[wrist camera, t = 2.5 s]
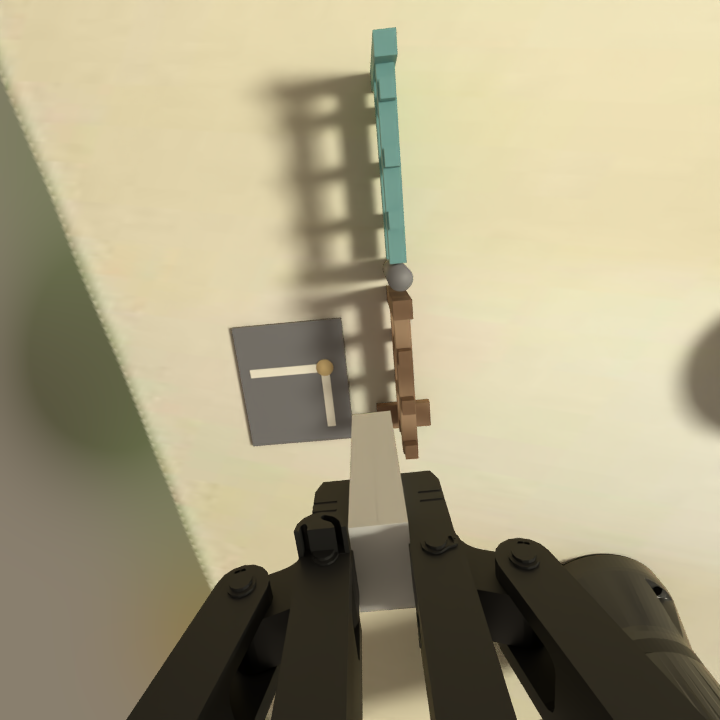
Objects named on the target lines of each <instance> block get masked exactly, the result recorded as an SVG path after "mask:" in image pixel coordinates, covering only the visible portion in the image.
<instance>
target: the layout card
mask: <svg viewBox="0 0 720 720" xmlns="http://www.w3.org/2000/svg"><path fill="white" fill-rule="evenodd" d="M231 329H232V335H233V340H234V345H235V351H236V356H237V361H238V367H239V372H240V377H241V383H242V388H243V394H244V399H245V404H246V410H247V415H248V420H249V426H250V431H251V436H252V442H253V446H263V445H274V444H286V443H298V442H310V441H322V440H334V439H346V438H351V431H352V413H351V404H350V395H349V386H348V377H347V368H346V358H345V349H344V340H343V331H342V322H341V318H332V319H321V320H310V321H299V322H289V323H278V324H267V325H256V326H245V327H234V328H231Z"/></svg>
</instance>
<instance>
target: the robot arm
mask: <svg viewBox="0 0 720 720" xmlns="http://www.w3.org/2000/svg"><path fill="white" fill-rule="evenodd" d="M312 513H313V514H312V515H310V516H308V517H306V518H304V519H303V520H301V521H300V522H299V523H298V524H297V526H296V528H295V530H294V535H295V540H296V545H297V551H298V556H299V560H298V561H297V562H296V563H294V564H293V565H291V566H290V567H288V568H286V569H283V570H281V571H278V572H275V573H272V574H270V575H268V572H267V571H266V570H265V569H264V568H263V567H260V566H257V565H244V566H241V567H238V568H235V569H233V570H232V571H230V572H229V573H227V574H225V575H224V576H223V577H222V579H221V580H220V581H219V582H218V583H217V585H216V586H215V588H214V589H213V591H212V592H211V594H210V595H209V597H208V598H207V600H206V601H205V603H204V604H203V606H202V607H201V609H200V610H199V612H198V613H197V615H196V616H195V618H194V619H193V621H192V622H191V624H190V625H189V627H188V628H187V630H186V631H185V633H184V634H183V636H182V637H181V639H180V640H179V642H178V643H177V645H176V646H175V648H174V649H173V651H172V652H171V654H170V655H169V657H168V658H167V660H166V661H165V663H164V664H163V666H162V667H161V669H160V670H159V672H158V673H157V675H156V676H155V678H154V679H153V681H152V682H151V684H150V685H149V687H148V688H147V690H146V691H145V693H144V694H143V696H142V697H141V699H140V700H139V702H138V703H137V705H136V706H135V708H134V709H133V711H132V712H131V714H130V715H129V717H128V718H127V720H265V718H266V715H267V713H268V710H269V708H270V705H271V703H272V700H273V698H274V695H275V700H274V706H273V712H272V717H271V720H362V630H361V623H360V616H359V605H360V612H371V611H382V610H393V609H404V608H415V607H416V615H417V625H418V635H419V645H420V648H421V654H422V661H423V668H424V675H425V683H426V690H427V697H428V704H429V711H430V719H431V720H517V718H516V715H515V712H514V709H513V705H512V702H511V699H510V696H509V692H508V689H507V686H506V683H505V680H504V676H503V673H502V670H501V667H500V663H499V660H498V657H497V654H496V651H495V647H494V644H493V642H498V643H499V646H500V649H501V650H502V652H503V654H504V655H505V657H506V659H507V660H508V662H509V664H510V665H511V667H512V669H513V670H514V672H515V674H516V675H517V677H518V679H519V680H520V682H521V684H522V685H523V687H524V689H525V690H526V692H527V694H528V695H529V697H530V699H531V700H532V702H533V704H534V705H535V707H536V709H537V710H538V712H539V714H540V715H541V717H542V719H540V720H720V685H719V684H718V682H717V681H716V680H715V679H714V677H713V676H712V675H711V673H710V672H709V671H708V670H707V669H706V667H705V666H704V665H703V663H702V662H701V661H700V659H699V658H698V657H697V655H696V654H695V653H694V651H693V650H692V648H691V645H690V643H689V640H688V638H687V635H686V632H685V630H684V627H683V625H682V622H681V620H680V617H679V614H678V612H677V609H676V607H675V604H674V601H673V599H672V597H671V595H670V594H669V592H668V590H667V589H666V588H665V586H664V585H663V584H662V583H661V582H660V580H659V579H658V578H657V577H656V576H655V574H654V573H653V572H652V571H651V570H650V569H649V568H647V567H646V566H645V565H643V564H642V563H640V562H638V561H636V560H633V559H631V558H627V557H623V556H618V555H594V556H588V557H584V558H580V559H577V560H574V561H572V562H569V563H567V564H565V565H562V564H561V563H560V562H559V561H558V560H557V559H556V558H555V557H554V556H553V554H552V553H551V552H550V551H549V550H548V549H546V548H545V547H544V546H542V545H541V544H540V543H537V542H535V541H532V540H530V539H523V538H514V539H508V540H506V541H504V542H502V543H500V544H499V546H498V547H497V548H496V552H494V551H487V550H481V549H477V548H474V547H471V546H469V545H467V544H465V543H464V542H463V541H461V540H460V538H459V537H458V535H457V534H456V533H455V531H454V528H453V525H452V522H451V518H450V515H449V512H448V508H447V505H446V502H445V499H444V495H443V492H442V488H441V485H440V482H439V479H438V478H437V477H436V476H435V475H434V474H433V473H432V472H431V471H420V472H410V473H400V468H399V462H398V455H397V449H396V443H395V437H394V430H393V424H392V418H391V412H390V411H383V412H373V413H364V414H354V415H352V431H351V459H350V480H342V481H332V482H323V483H322V485H321V486H320V487H319V488H318V490H317V491H316V492H315V498H314V505H313V511H312ZM275 693H276V694H275Z"/></svg>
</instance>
